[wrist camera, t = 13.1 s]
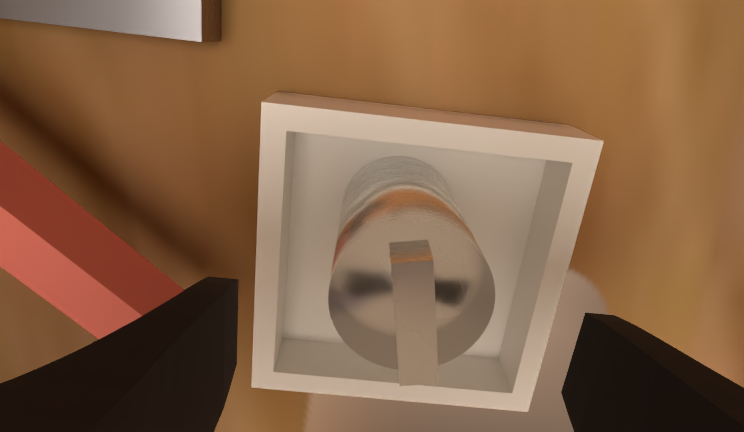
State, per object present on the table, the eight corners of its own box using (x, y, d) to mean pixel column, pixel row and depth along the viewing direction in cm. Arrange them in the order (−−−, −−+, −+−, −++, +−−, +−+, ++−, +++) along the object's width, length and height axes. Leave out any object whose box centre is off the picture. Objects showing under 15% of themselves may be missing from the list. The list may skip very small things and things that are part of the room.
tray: (508, 365, 19) (527, 411, 17) (266, 343, 19) (251, 387, 16) (569, 124, 16) (604, 140, 14) (277, 91, 16) (261, 101, 13)
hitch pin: (452, 254, 17) (506, 394, 10) (347, 262, 17) (334, 406, 10) (450, 151, 16) (509, 234, 9) (336, 159, 16) (314, 249, 9)
